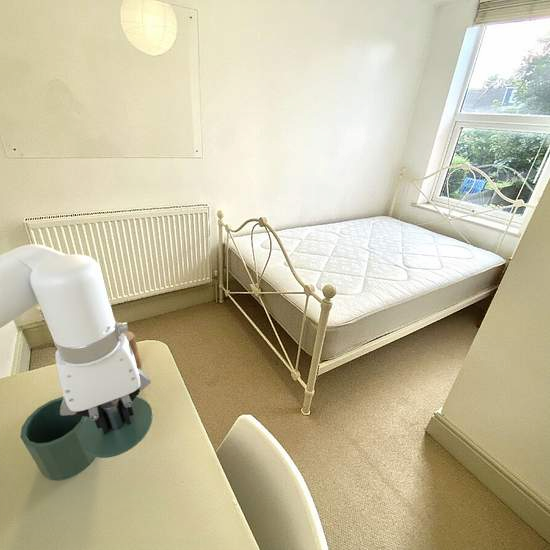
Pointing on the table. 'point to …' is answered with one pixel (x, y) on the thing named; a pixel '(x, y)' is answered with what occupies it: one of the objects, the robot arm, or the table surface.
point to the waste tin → (55, 441)
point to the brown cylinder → (133, 347)
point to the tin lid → (116, 429)
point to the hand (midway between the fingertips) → (116, 421)
